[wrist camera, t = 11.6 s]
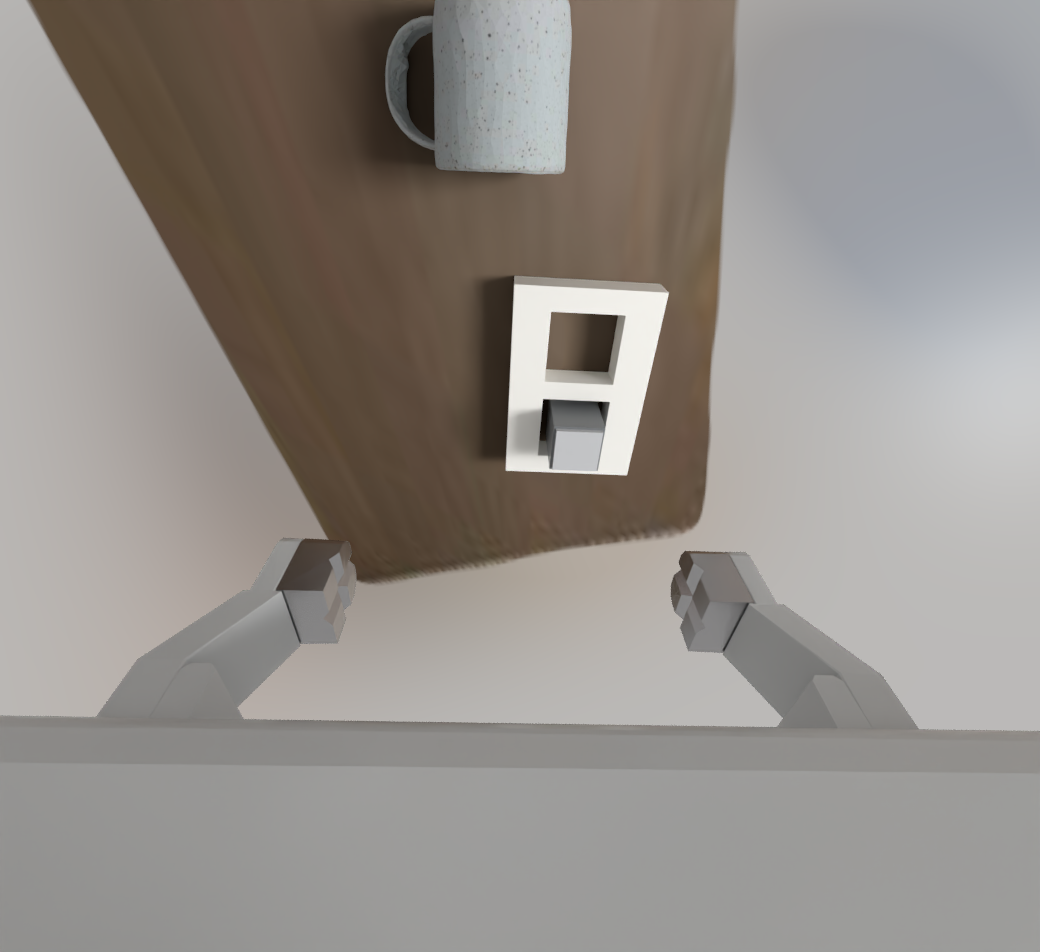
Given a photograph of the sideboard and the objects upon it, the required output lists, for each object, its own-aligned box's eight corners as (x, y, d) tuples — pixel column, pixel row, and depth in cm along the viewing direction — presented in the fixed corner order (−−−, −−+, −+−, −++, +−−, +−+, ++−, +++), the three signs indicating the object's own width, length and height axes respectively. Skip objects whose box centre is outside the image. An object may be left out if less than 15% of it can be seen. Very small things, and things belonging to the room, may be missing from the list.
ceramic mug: (568, 0, 27) (582, -41, 21) (560, 171, 32) (568, 181, 25) (381, -3, 27) (337, -45, 21) (400, 169, 32) (370, 178, 25)
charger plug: (549, 393, 41) (554, 428, 36) (595, 396, 41) (606, 430, 36) (545, 433, 43) (549, 471, 39) (588, 435, 44) (598, 473, 39)
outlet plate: (514, 275, 35) (514, 284, 33) (660, 283, 36) (668, 292, 34) (506, 455, 45) (505, 470, 43) (621, 459, 45) (626, 475, 43)
